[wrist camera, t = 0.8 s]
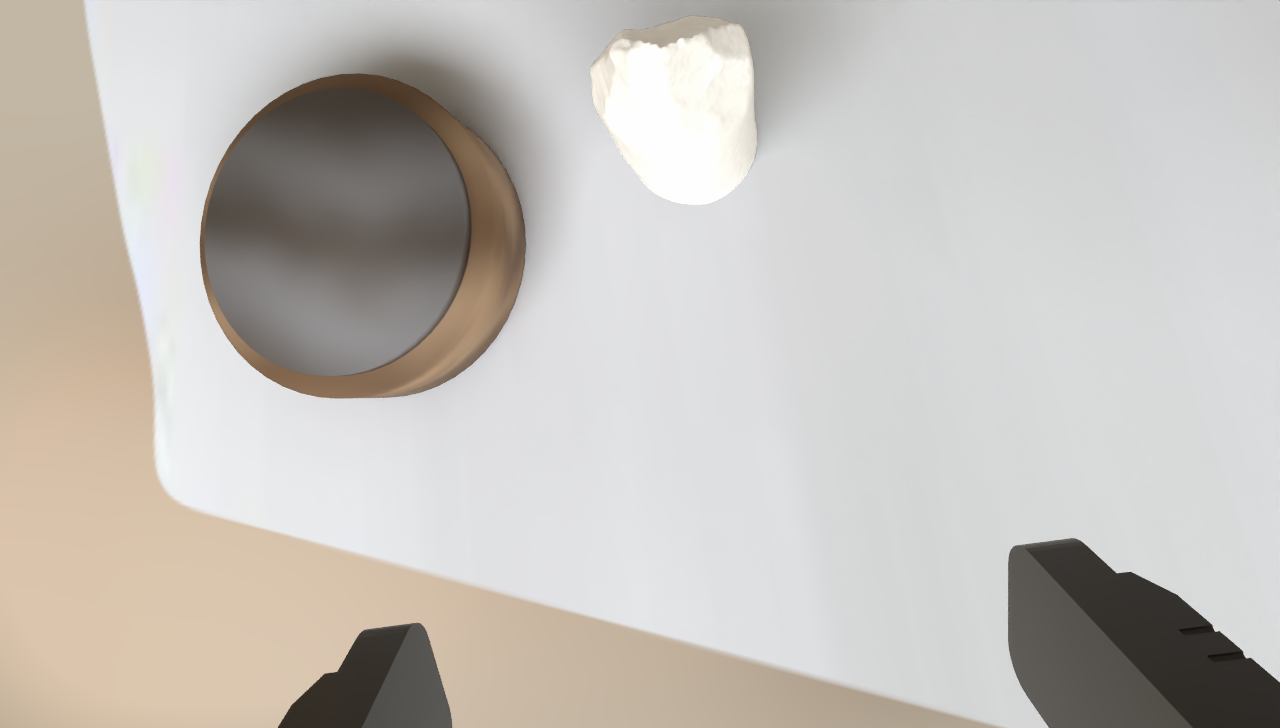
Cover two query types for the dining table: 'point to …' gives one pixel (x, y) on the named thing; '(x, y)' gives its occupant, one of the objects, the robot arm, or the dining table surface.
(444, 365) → the podium
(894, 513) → the dining table surface
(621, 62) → the white tall rounded piece
